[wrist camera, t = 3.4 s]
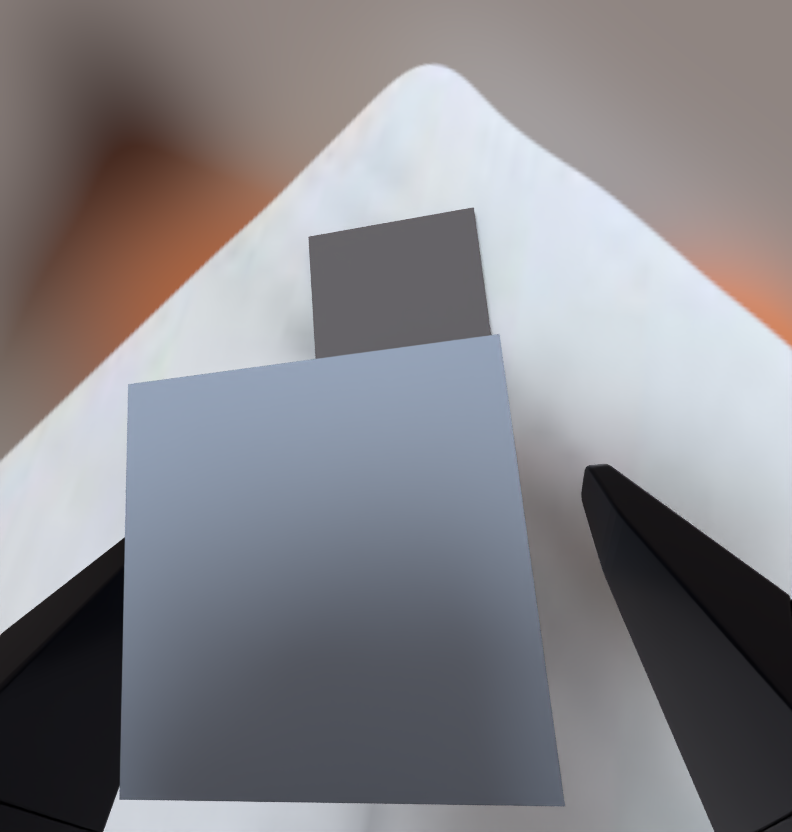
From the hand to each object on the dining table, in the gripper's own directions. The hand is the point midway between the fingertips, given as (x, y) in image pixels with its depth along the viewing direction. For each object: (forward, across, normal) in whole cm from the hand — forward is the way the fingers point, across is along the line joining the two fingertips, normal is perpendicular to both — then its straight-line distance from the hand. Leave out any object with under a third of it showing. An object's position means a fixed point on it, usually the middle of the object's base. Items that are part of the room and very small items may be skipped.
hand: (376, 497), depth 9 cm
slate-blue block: (+4, 0, +4) cm, 6 cm away
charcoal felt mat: (+12, 0, +1) cm, 12 cm away
